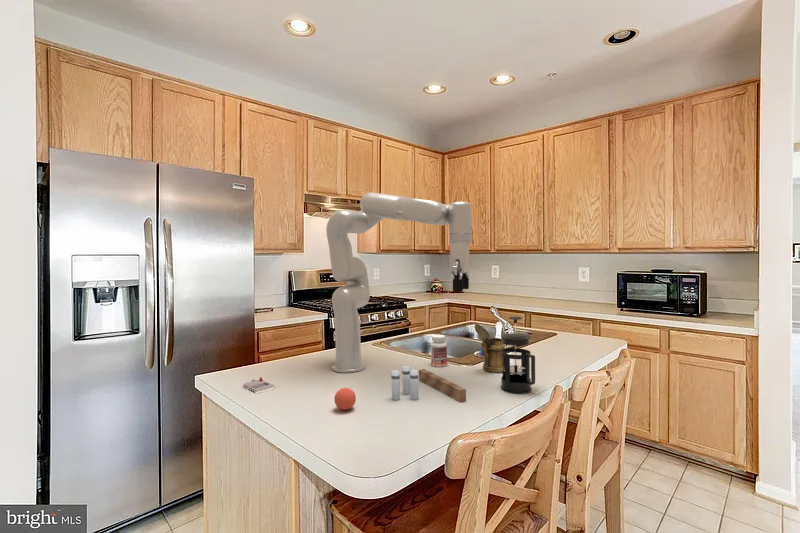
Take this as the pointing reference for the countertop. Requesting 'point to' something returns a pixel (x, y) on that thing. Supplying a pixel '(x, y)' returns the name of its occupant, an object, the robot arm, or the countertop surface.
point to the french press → (513, 375)
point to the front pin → (395, 384)
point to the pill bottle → (438, 351)
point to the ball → (345, 399)
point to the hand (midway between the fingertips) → (461, 290)
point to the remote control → (258, 385)
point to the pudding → (479, 351)
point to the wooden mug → (491, 351)
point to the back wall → (443, 385)
